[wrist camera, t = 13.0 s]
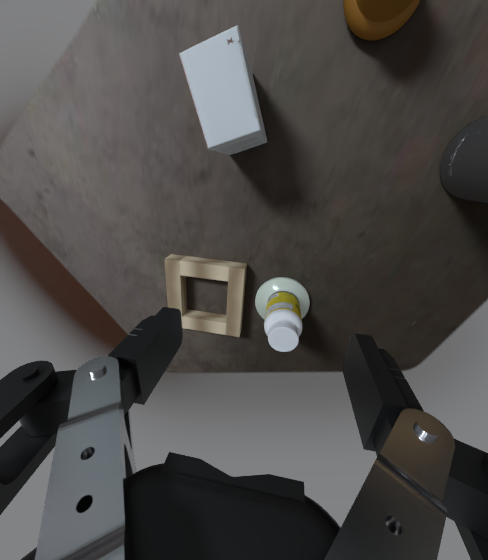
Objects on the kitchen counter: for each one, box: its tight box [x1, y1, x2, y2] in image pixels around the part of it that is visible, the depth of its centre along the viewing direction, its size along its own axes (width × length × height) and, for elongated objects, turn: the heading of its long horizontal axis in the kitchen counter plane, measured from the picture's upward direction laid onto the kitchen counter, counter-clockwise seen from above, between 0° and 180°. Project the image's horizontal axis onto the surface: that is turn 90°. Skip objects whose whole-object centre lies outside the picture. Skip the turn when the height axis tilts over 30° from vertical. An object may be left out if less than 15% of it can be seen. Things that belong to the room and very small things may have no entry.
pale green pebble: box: [255, 277, 310, 320], centre depth 40 cm, size 9×9×1 cm
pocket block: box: [165, 254, 247, 337], centre depth 41 cm, size 13×13×2 cm
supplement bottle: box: [264, 290, 302, 352], centre depth 36 cm, size 5×5×10 cm
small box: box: [179, 26, 267, 155], centre depth 26 cm, size 8×6×10 cm
